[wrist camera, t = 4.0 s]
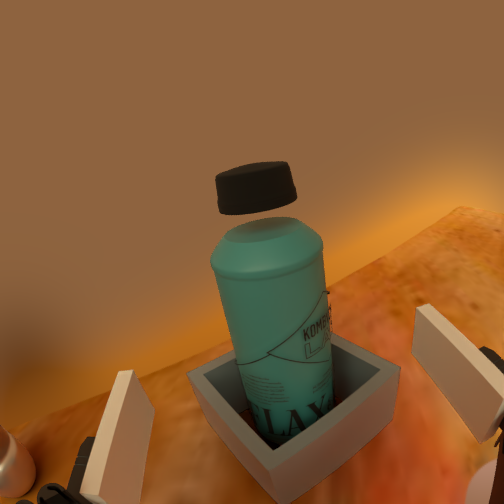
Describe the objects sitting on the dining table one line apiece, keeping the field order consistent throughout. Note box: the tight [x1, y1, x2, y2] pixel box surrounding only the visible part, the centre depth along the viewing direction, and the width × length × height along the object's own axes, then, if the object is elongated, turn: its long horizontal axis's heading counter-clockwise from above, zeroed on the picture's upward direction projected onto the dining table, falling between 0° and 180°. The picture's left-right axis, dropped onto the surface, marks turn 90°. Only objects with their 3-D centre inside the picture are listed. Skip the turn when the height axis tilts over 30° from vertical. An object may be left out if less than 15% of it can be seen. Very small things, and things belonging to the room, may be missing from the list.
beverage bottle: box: [210, 161, 336, 445], centre depth 19 cm, size 6×7×20 cm
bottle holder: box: [186, 332, 401, 504], centre depth 21 cm, size 11×11×6 cm
